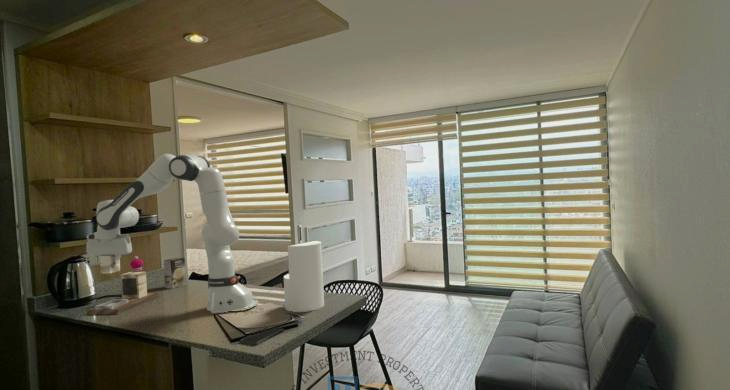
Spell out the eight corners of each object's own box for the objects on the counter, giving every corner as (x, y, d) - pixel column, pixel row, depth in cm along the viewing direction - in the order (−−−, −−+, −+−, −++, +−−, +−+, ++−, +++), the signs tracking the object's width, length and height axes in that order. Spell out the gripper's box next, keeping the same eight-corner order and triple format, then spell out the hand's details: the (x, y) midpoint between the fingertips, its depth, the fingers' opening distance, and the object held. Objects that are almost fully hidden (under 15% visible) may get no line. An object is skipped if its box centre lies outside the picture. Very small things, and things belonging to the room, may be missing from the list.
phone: (284, 328, 140) (255, 344, 127) (285, 332, 140) (255, 347, 127) (268, 326, 144) (238, 340, 131) (268, 329, 144) (238, 343, 131)
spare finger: (109, 273, 174) (109, 255, 174) (100, 273, 174) (99, 256, 174) (120, 270, 181) (120, 253, 181) (111, 270, 181) (111, 253, 181)
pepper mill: (138, 294, 206) (136, 257, 206) (127, 294, 208) (125, 257, 208) (148, 290, 213) (146, 254, 213) (137, 290, 215) (135, 255, 215)
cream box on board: (157, 296, 199) (156, 269, 199) (117, 314, 171) (116, 282, 171) (131, 297, 200) (129, 270, 200) (87, 314, 172) (85, 283, 172)
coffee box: (172, 289, 214) (171, 260, 214) (164, 288, 217) (163, 260, 217) (186, 285, 223) (184, 257, 223) (178, 284, 225) (176, 257, 225)
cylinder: (332, 303, 173) (329, 241, 172) (305, 314, 158) (302, 247, 158) (304, 298, 182) (301, 240, 182) (276, 308, 168) (273, 245, 168)
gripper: (134, 233, 179) (135, 262, 179) (94, 234, 181) (95, 263, 181) (125, 234, 173) (126, 265, 173) (83, 236, 175) (84, 266, 175)
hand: (110, 264), depth 177 cm, fingers closed on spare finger, 4 cm apart
